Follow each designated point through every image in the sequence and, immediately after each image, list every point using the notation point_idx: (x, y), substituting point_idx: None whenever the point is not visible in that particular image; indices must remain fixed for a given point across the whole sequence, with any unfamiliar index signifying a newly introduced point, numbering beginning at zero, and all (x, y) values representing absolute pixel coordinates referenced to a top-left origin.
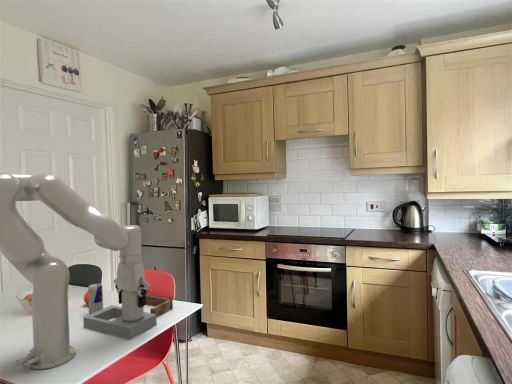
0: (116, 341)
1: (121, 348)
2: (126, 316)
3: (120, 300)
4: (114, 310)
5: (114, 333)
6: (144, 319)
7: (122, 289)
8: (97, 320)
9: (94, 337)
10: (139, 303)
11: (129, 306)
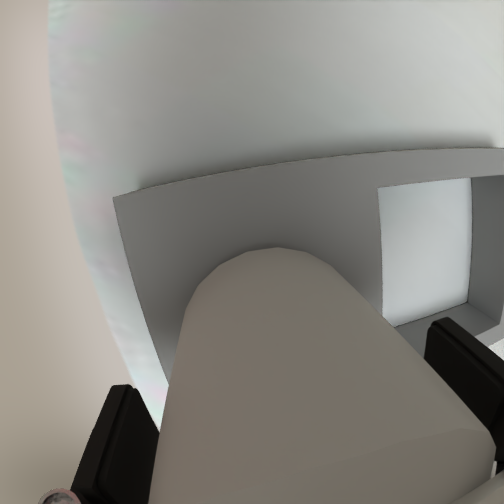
0: (192, 123)
1: (89, 101)
2: (245, 264)
3: (449, 345)
4: (487, 318)
5: (283, 162)
6: (173, 356)
7: (490, 497)
8: (459, 149)
9: (363, 87)
10: (101, 420)
11: (208, 335)
